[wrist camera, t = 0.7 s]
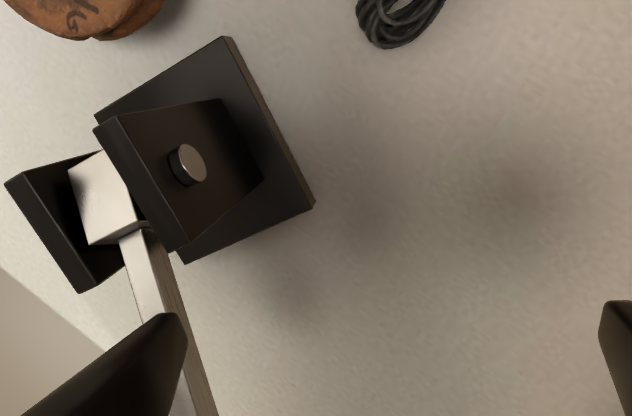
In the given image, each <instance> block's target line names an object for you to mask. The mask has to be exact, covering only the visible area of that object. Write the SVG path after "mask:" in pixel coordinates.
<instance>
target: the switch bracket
mask: <svg viewBox="0 0 632 416" xmlns="http://www.w3.org/2000/svg"><path fill="white" fill-rule="evenodd" d="M94 117H95V119H96V120H97V122H98V124H99V125H98V126H97V127H95V128H93V130H92V131H93V133H94V134H95V136H96V138H97V139H98V141H99V143H100V144H101V146H102V147H103V149H104V151H105V152H106V154H107V156H108V157H109V159H110V161H111V162H112V164H113V165H114V167H115V169H116V170H117V172H118V174H119V175H120V177H121V178H122V180H123V182H124V183H125V185H126V187H127V188H128V190H129V191H130V193H131V195H132V196H133V198H134V200H135V201H136V203H137V205H138V206H139V208H140V209H141V211H142V213H143V214H144V216H145V218H146V219H147V221H148V222H149V224H150V226H151V227H152V229H153V231H154V232H155V234H156V236H157V237H158V239H159V240H160V242H161V244H162V245H163V247H164V249H165V250H166V252H167V253H171V252H173V251H175V250H176V252H177V254H178V255H179V257H180V258H181V260H182V262H183V263H184V265H186V264H189V263H191V262H193V261H195V260H198V259H200V258H202V257H205V256H207V255H209V254H211V253H214V252H216V251H218V250H220V249H223V248H225V247H227V246H229V245H232V244H234V243H236V242H238V241H241V240H243V239H245V238H247V237H250V236H252V235H254V234H256V233H259V232H261V231H263V230H265V229H268V228H270V227H272V226H275V225H277V224H279V223H281V222H284V221H286V220H288V219H290V218H293V217H295V216H297V215H299V214H302V213H304V212H306V211H308V210H311V209H312V208H313V206H314V205H315V203H316V200H315V198H314V197H313V195H312V193H311V191H310V189H309V187H308V185H307V183H306V181H305V179H304V177H303V175H302V173H301V171H300V169H299V167H298V166H297V164H296V162H295V160H294V158H293V156H292V154H291V152H290V150H289V148H288V146H287V144H286V142H285V140H284V138H283V136H282V134H281V133H280V131H279V129H278V127H277V125H276V123H275V121H274V119H273V117H272V115H271V113H270V111H269V109H268V107H267V105H266V103H265V101H264V100H263V98H262V96H261V94H260V92H259V90H258V88H257V86H256V84H255V82H254V80H253V78H252V76H251V74H250V72H249V70H248V69H247V67H246V65H245V63H244V61H243V59H242V57H241V55H240V53H239V51H238V49H237V47H236V45H235V43H234V41H233V39H232V38H231V37H227V36H220V37H219V38H217V39H215V40H214V41H212V42H211V43H209V44H207V45H206V46H204V47H202V48H201V49H199V50H198V51H196V52H194V53H193V54H191V55H190V56H188V57H186V58H185V59H183V60H181V61H180V62H178V63H177V64H175V65H173V66H172V67H170V68H168V69H167V70H165V71H164V72H162V73H160V74H159V75H157V76H155V77H154V78H152V79H151V80H149V81H147V82H146V83H144V84H143V85H141V86H139V87H138V88H136V89H134V90H133V91H131V92H130V93H128V94H126V95H125V96H123V97H121V98H120V99H118V100H117V101H115V102H113V103H112V104H110V105H109V106H107V107H105V108H104V109H102V110H100V111H99V112H97V113H96V114H94ZM103 149H102V150H103ZM100 151H101V150H99V151H95V152H92V153H88V154H84V155H81V156H77V157H74V158H70V159H66V160H63V161H59V162H55V163H52V164H48V165H45V166H41V167H37V168H34V169H30V170H27V171H23V172H21V173H19V174H18V175H16V176H14V177H13V178H11V179H10V180H8V181H6V182H5V183H4V186H5V188H6V189H7V191H8V192H9V194H10V195H11V196H12V198H13V199H14V201H15V202H16V204H17V205H18V207H19V208H20V210H21V211H22V213H23V214H24V216H25V217H26V219H27V220H28V221H29V223H30V224H31V226H32V227H33V229H34V230H35V232H36V233H37V235H38V236H39V238H40V239H41V241H42V242H43V244H44V245H45V247H46V248H47V249H48V251H49V252H50V254H51V255H52V257H53V258H54V260H55V261H56V263H57V264H58V266H59V267H60V269H61V270H62V272H63V273H64V275H65V276H66V277H67V279H68V280H69V282H70V283H71V285H72V286H73V288H74V289H75V291H76V292H77V293H78V294H81V293H83V292H85V291H88V290H90V289H92V288H94V287H96V286H98V285H100V284H101V283H102V282H104V281H105V280H107V279H108V278H109V277H111V276H112V275H113V274H115V273H116V272H117V271H119V270H120V269H122V268H123V267H124V266H125V263H124V260H123V257H122V253H121V250H120V246H119V244H108V245H88V241H87V238H86V234H85V231H84V227H83V224H82V220H81V217H80V213H79V210H78V206H77V203H76V199H75V196H74V192H73V189H72V185H71V182H70V178H69V175H68V170H69V169H70V168H72V167H74V166H76V165H77V164H79V163H81V162H82V161H84V160H86V159H88V158H89V157H91V156H93V155H95V154H96V153H98V152H100Z"/></svg>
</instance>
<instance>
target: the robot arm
mask: <svg viewBox="0 0 632 416" xmlns="http://www.w3.org/2000/svg"><path fill="white" fill-rule="evenodd" d="M598 339H599V343H600V346H601V349H602V352H603V354H604V357H605V360H606V363H607V366H608V368H609V371H610V374H611V377H612V379H613V382H614V385H615V388H616V390H617V393H618V396H619V399H620V402H621V404H622V407H623V410H624V412H625V415H626V416H632V301H629V300H614V301H607V302H606V303H605V304H604V307H603V311H602V316H601V320H600V325H599V330H598ZM187 348H188V337H187V334H186V332H185V330H184V327H183V325H182V323H181V320H180V318H179V316H178V315H177V314H176V313H174V312H165V313H158V314H156V315H155V316H154V317H152V318H151V319H150V320H148V321H147V322H146V323H144V324H143V325H141V326H140V327H139V328H137V329H136V330H135V331H133V332H132V333H131V334H129V335H128V336H127V337H125V338H124V339H123V340H121V341H120V342H119V343H117V344H116V345H115V346H113V347H112V348H111V349H109V350H108V351H107V352H105V353H104V354H103V355H101V356H100V357H99V358H97V359H96V360H95V361H93V362H92V363H91V364H89V365H88V366H87V367H85V368H84V369H83V370H81V371H80V372H78V373H77V374H76V375H74V376H73V377H72V378H71V379H69V380H68V381H66V382H65V383H64V384H62V385H61V386H60V387H59V388H57V389H56V390H54V391H53V392H52V393H50V394H49V395H48V396H46V397H45V398H44V399H42V400H41V401H40V402H38V403H37V404H36V405H34V406H33V407H32V408H30V409H29V410H27V411H26V412H25V413H23V414H22V415H21V416H168V415H169V413H170V410H171V407H172V403H173V400H174V396H175V393H176V389H177V385H178V382H179V378H180V374H181V371H182V367H183V363H184V360H185V356H186V352H187Z"/></svg>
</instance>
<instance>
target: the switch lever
mask: <svg viewBox="0 0 632 416" xmlns="http://www.w3.org/2000/svg"><path fill="white" fill-rule="evenodd" d="M68 175H69V178H70V182H71V185H72V189H73V192H74V196H75V199H76V203H77V206H78V210H79V213H80V217H81V220H82V224H83V227H84V231H85V234H86V238H87V241H88V245H108V244H119V246H120V250H121V253H122V257H123V260H124V263H125V267H126V270H127V273H128V277H129V280H130V283H131V287H132V290H133V293H134V297H135V300H136V304H137V307H138V310H139V314H140V317H141V320H142V324H144V323H146V322H147V321H148V320H150V319H151V318H152V317H154V316H155V315H156V314H158V313H165V312H174V313H176V314H177V315H178V316H179V318H180V320H181V323H182V325H183V327H184V330H185V332H186V334H187V337H188V348H187V352H186V356H185V360H184V363H183V367H182V371H181V374H180V378H179V382H178V385H177V389H176V393H175V396H174V400H173V403H172V407H171V410H170V413H169V414H170V416H219V414H218V411H217V408H216V405H215V402H214V399H213V395H212V392H211V389H210V386H209V383H208V380H207V377H206V373H205V370H204V367H203V364H202V361H201V358H200V354H199V351H198V348H197V345H196V342H195V339H194V335H193V332H192V329H191V326H190V323H189V320H188V317H187V313H186V310H185V307H184V304H183V301H182V298H181V294H180V291H179V288H178V285H177V282H176V279H175V275H174V272H173V269H172V266H171V263H170V260H169V257H168V253H167V252H166V250H165V249H164V247H163V245H162V244H161V242H160V240H159V239H158V237H157V236H156V234H155V232H154V231H153V229H152V227H151V226H150V224H149V222H148V221H147V219H146V218H145V216H144V214H143V213H142V211H141V209H140V208H139V206H138V205H137V203H136V201H135V200H134V198H133V196H132V195H131V193H130V191H129V190H128V188H127V187H126V185H125V183H124V182H123V180H122V178H121V177H120V175H119V174H118V172H117V170H116V169H115V167H114V165H113V164H112V162H111V161H110V159H109V157H108V156H107V154H106V152H105V151H104V149H103V150H101V151H100V152H98V153H96V154H95V155H93V156H91V157H89V158H88V159H86V160H84V161H82V162H81V163H79V164H77V165H76V166H74V167H72V168H70V169H69V170H68Z"/></svg>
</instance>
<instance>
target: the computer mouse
mask: <svg viewBox="0 0 632 416" xmlns="http://www.w3.org/2000/svg"><path fill="white" fill-rule="evenodd" d="M396 1H398V0H359V1H358V4H357V5H356V16H357V18H358V20H359V26H360V28H361V29H362V30H363V31H364V32H366V36H367V38H368V40H369V41H370V42H372V43H374V44H375V45H376V46H377V47H380V48H382V49H392V48H396V47H400V46H402V45H404V44H407V43H409V42H411V41H413V40H414V39H415V38H417V37H418V36H419V35H420V34H421V33H422V32H423V31H424V30H425V29H426V28H427V27H428V26H429V25H430V24H431V23H432V21H433V20H434V19H435V17H436V16H437V14H438V13H439V11H440V9H441V8H442V7H443V5H444V2H445V1H446V0H413V1H412V2H411V3H409V4H408V5H407V6H405V7H403V8H402V9H399V10H397V11H395V12H394V13H392V14H386V12H387V11H388V10H389V9H390V8H391V6H392V5H393V4H394V3H395V2H396ZM411 27H412V29H411V30H409V31H408V32H406V31H407V30H408V29H410V28H411ZM405 32H406V33H405Z"/></svg>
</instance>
